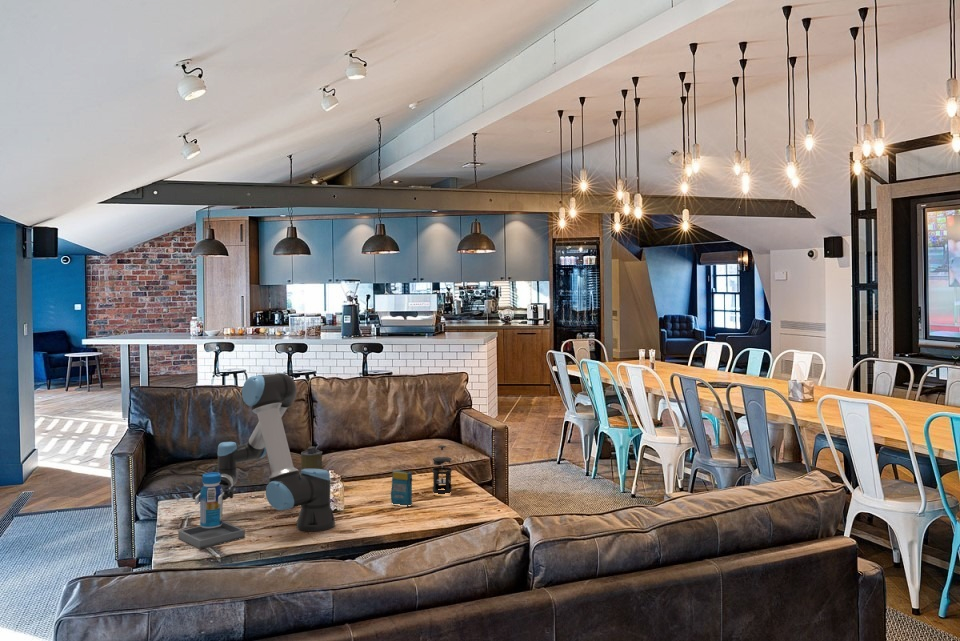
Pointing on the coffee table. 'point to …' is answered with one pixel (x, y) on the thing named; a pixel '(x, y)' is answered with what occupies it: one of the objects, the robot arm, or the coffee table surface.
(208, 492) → the beverage bottle
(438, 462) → the french press
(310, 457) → the canister
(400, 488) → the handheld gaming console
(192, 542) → the tray
